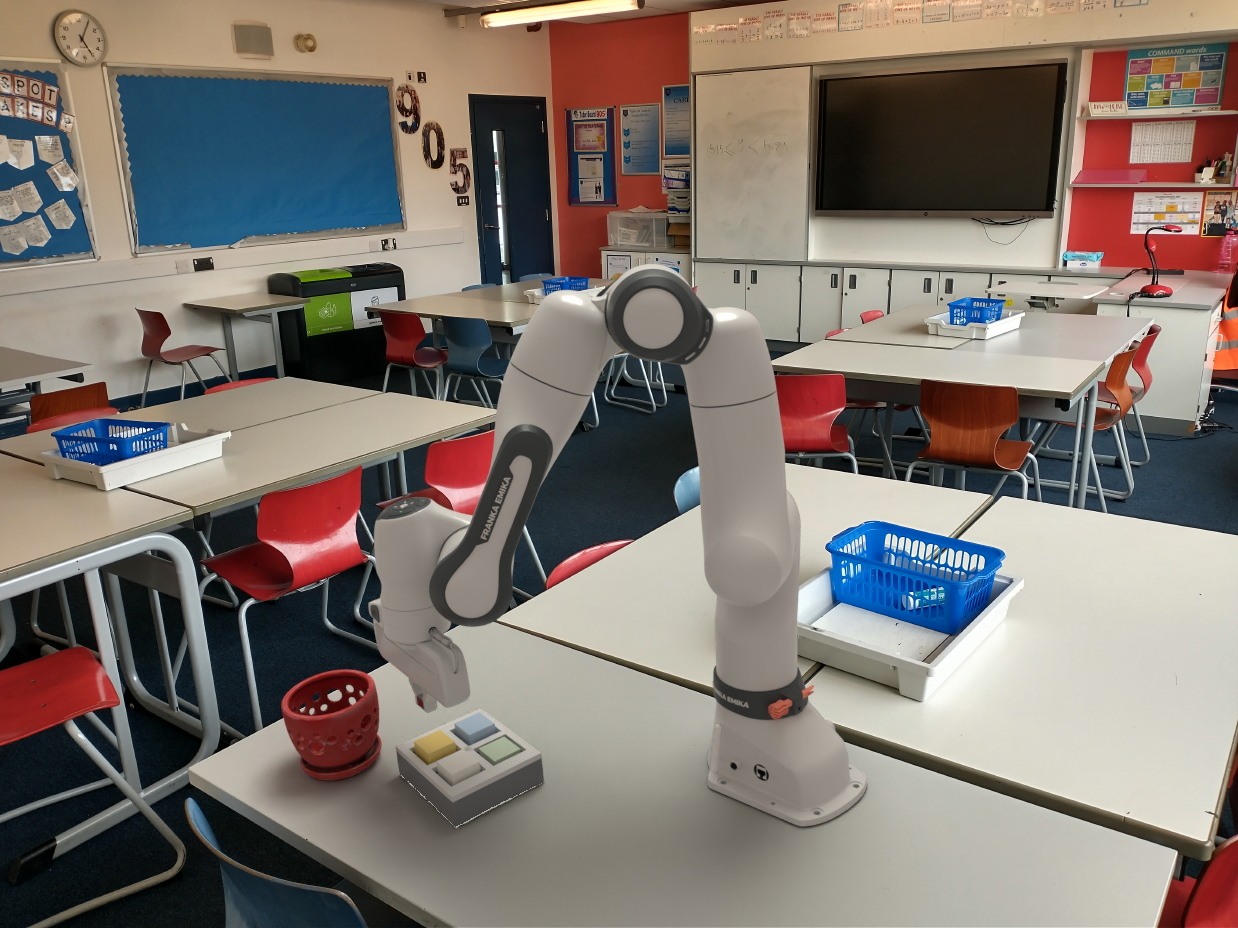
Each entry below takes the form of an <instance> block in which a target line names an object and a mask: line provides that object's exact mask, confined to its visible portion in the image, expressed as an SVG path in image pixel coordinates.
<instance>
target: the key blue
mask: <svg viewBox="0 0 1238 928" xmlns="http://www.w3.org/2000/svg"><path fill="white" fill-rule="evenodd" d="M454 725H455V733H456V736H457V737H458V738H459V739H460V740H462V741H463V742H464V743H465V744H467V745H468V746H470V745H472V744H474V743H477V742H479V741H481V740H483V739H485V738H487V737H489V736H492V735H494V734H496V731H495V723H493V722H492V721H491V720H489V719H488V718H486V717H485V716H484V715H482V714H481V713H480V712H479V713H477V714H474V715H472V716H470V717H468V718H465V719H463V720H461V721H459V722H456V723H454Z"/></svg>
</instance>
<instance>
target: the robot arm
mask: <svg viewBox="0 0 1238 928" xmlns="http://www.w3.org/2000/svg"><path fill="white" fill-rule="evenodd" d="M764 335H765V334H764V333H763V330H762V327H761V324H760V322H759V320H758V319H757V317H755V316H754V315H753V314H752V313H751V312H749V311H747V310H745V309H742V308H738V307H735V306H720V307H716V308H711V307H707V306H705V304H704V302H702V300H701V299H700V298H699V296H697V293H695V291H694V290H693V288H692V287H691V286H690V284H689V282H688V281H687V280H686V278H685V277H684V276H682V274H681V273H679V272H678V271H676V270H675V269H673V268H671V267H668V266H665V265H663V264H658V263H647V264H646V263H645V264H641V265H637V266H634V267H632V268H630V269H628V270H627V271H625V272H623V273H622V274H620V276H618V277H617V278H616V279H614V281H612V282H611V283H610V284H609V285H607V286H606V287H604V288H603V289H602V290H600V291H599V292H598V293H597V294H596V296H594V295H589V294H587V293H584V292H581V291H579V290H573V289H572V290H570V289H562V290H556V291H553V292H551V293H549V294H548V295H546V296H545V297H544V298H543V299H542V300H541V302H540V303H539V304H538V307H536V310H535V311H534V312H533V314H532V316H531V317H530V320H529V321H528V322H527V325H526V326H525V328H524V329H523V332H522V334H521V336H520V338H519V340H518V341H517V344H516V346H515V349H514V350H513V353H512V356H511V358H510V360H509V362H508V366H507V368H506V371H505V373H504V377H503V380H502V384H501V387H500V392H499V396H498V401H497V407H496V412H495V421H494V437H493V446H492V455H491V456H492V457H491V462H490V467H489V471H488V475H487V478H486V480H485V483H484V486H483V489H482V491H481V494H480V497H479V498H478V502H477V504H476V506H475V509H474V511H473V514H466V513H463V512H462V513H461V512H459V511H455V510H453V509H449V508H446V507H444V506H442V505H440V504H438V503H437V502H436V501H434V499H432V498H429V497H426V496H425V497H424V496H423V497H422V496H414V497H408V498H404V499H400V500H398V501H395V502H394V503H392V504H390V505H388V506H386V507H385V508H384V509H383V510H382V511H381V512H380V513H379V515H378V516H377V518H376V519H375V522H374V523H375V524H374V527H373V529H374V530H373V543H374V547H373V549H374V558H375V559H374V560H375V567H376V574H377V577H378V579H379V581H380V584H381V590H380V592H381V593H380V596H379V598H377V599H374V600H372V601H370V602H368V603H367V604H368V607H367V608H368V612H369V615H370V616H371V618H373V619H372V621H373V629H374V634H375V640H376V645H377V648H378V651H379V653H380V655H381V656H382V658H383V659H384V660H385V661H387V662H388V663H390V665H392V666H393V667H395V668H396V669H397V670H398V671H400V672H401V673H402V674H403V675H405V676H406V677H407V678H408V681H409V685H410V686H411V689H412V691H413V694H414V698H415V699H414V700H415V704H416V705H417V706H418V707H419V708H420V709H422V710H423V711H424V712H425V713H427V714H430V713H432V712H434V711H436V710H437V708H438V703H440V704H441V705H442V706H443V707H444V708H446V709H449V708H452V707H455V706H457V705H461V704H462V703H464V702H467V701H468V699H469V698H470V696H471V685H470V679H469V674H468V667H467V664H466V659H465V656H464V655H465V654H464V653H463V651H462V649H461V648H460V647H459V645H457V643H455V642H454V641H453V639H452V638H451V637H450V636H448V635H445V633H447V631H449V629H450V628H451V624H456V625H458V626H461V627H466V628H467V627H468V628H475V627H476V628H477V627H482V626H487V625H489V624H492V623H494V622H495V621H498V620H499V619H500V618H501V617H502V616H503V615H504V614H505V613H506V612H507V610H508V609H509V607H510V605H511V602H512V599H513V594H514V593H513V592H514V591H513V588H514V587H513V586H514V585H513V584H514V582H513V573H514V572H513V571H514V565H515V564H514V562H515V552H516V549H517V546H518V544H519V541H520V539H521V536H522V533H523V531H524V528H525V526H526V524H527V520H528V518H529V515H530V513H531V511H532V508H533V506H534V504H535V501H536V498H537V496H538V493H539V491H540V488H541V486H542V485H543V482H544V481H545V479H546V477H547V476H548V474H549V472H550V470H551V469H552V467H553V465H554V463H555V462H556V460H557V459H558V457H559V455H560V454H561V452H562V450H563V449H564V447H565V446H566V444H567V442H568V441H569V439H570V437H571V436H572V433H574V431H575V429H576V427H577V426H578V424H579V422H580V420H581V418H582V416H583V414H584V412H585V410H586V408H587V406H588V404H589V402H590V399H591V398H592V394H593V393H594V391H595V387H596V385H597V382H598V380H599V377H600V375H601V374H602V371H603V369H604V368H605V366H606V365H607V364H608V362H609V361H610V360H611V359H612V358H613V357H614V356H615V355H618V354H619V353H621V352H625V353H626V354H628V355H629V356H631V357H634V358H636V359H639V360H642V361H645V362H651V363H652V362H653V363H665V364H671V365H672V364H673V365H679V366H680V367H681V369H682V372H683V376H684V379H685V385H686V391H687V396H688V397H687V398H688V403H689V404H688V405H689V408H690V409H689V411H690V417H691V422H692V428H693V429H692V430H693V435H694V441H695V447H696V452H697V453H696V454H697V461H698V472H699V473H698V474H699V476H698V477H699V501H700V502H699V505H700V518H701V520H700V521H701V533H702V544H703V569H704V570H703V571H704V576H705V579H706V581H707V584H708V586H709V588H710V589H711V591H712V592H713V593H714V594H715V595H716V603H715V612H714V641H715V646H714V647H715V649H714V650H715V666H714V668H713V672H712V673H713V674H712V675H713V676H712V679H713V680H712V687H713V691H712V693H713V697H714V699H715V712H714V720H713V730H712V737H711V741H710V746H709V750H708V753H707V754H706V755H707V756H706V757H707V758H706V761H707V766H708V768H709V771H708V774H707V782H706V783H707V787H708V788H709V789H711V790H713V791H716V792H718V793H720V794H722V795H725V796H726V797H727V796H728V797H730V798H731V799H733V800H737V801H739V802H741V803H744V804H746V805H749V806H750V807H753V808H755V809H758V810H760V811H763V812H765V813H766V814H769V815H771V816H774V817H776V818H778V819H782V820H783V821H785V822H788V823H791V824H793V825H794V826H798V827H810V826H815V825H819V824H823V823H826V822H828V821H830V820H833V819H835V818H836V817H838V816H841V814H843V813H845V812H846V811H848V810H849V809H851V808H852V806H854V805H856V803H858V801H859V800H860V799H861V798H862V797H863V795H864V794H865V792H866V790H867V787H868V781H867V780H868V777H867V775H866V774H865V773H864V772H862V771H861V770H860V769H858V768H857V767H856V766H854V765H853V764H852V763H850V761H849V753H848V748H847V746H846V743H845V741H844V739H843V738H842V737H841V736H840V735H839V733H838V732H837V731H836V726H835V724H834V723H833V722H832V720H830V719H826V718H825V717H824V716H823V715H822V713H820V711H818V709H817V708H816V707H815V706H814V705H813V703H812V702H811V701H810V700H809V696H811V695H813V693H814V692H815V691H814V688H815V685H814V684H811V685H810V686H808V687H806V684H805V682H804V679H803V676H802V673H801V670H800V667H798V613H799V612H798V611H799V593H800V591H799V590H800V589H799V588H800V569H801V568H800V567H801V565H800V564H801V563H800V561H801V532H802V531H801V530H802V529H801V527H802V524H801V521H802V520H801V515H800V511H799V508H798V505H797V502H796V500H795V498H794V497H793V495H792V493H791V492H790V491H789V490H788V489H787V478H786V477H787V476H786V474H787V473H786V449H785V448H786V447H785V441H784V435H783V427H782V420H781V413H780V405H779V400H778V399H779V398H778V391H777V384H776V378H775V373H774V368H773V364H772V360H771V356H770V351H769V348H768V345H767V342H766V338H765V336H764Z"/></svg>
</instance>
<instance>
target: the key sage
mask: <svg viewBox="0 0 1238 928" xmlns="http://www.w3.org/2000/svg"><path fill="white" fill-rule="evenodd" d="M519 753H521V749H520V748H519V747H517V746H516V745H515V744H513V743H512V742H511V741H509V740H508V739H507V738H505V737H502V738H500V739H498V740H496V741H494V742H491V743H489V744H487V745H485V746H483V747H481V748H479V755H480V756H482V757H483V758H484V759H485V760H487V761H488V762H489V763H490V764H492V765H493V766H495V765H497V764H499V763H501V762H503V761H505V760H507V759H509V758H511V757H513V756H515V755H517V754H519Z"/></svg>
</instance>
